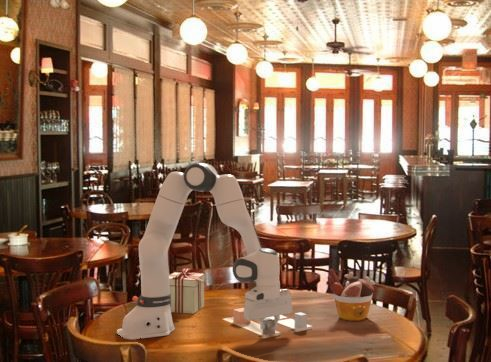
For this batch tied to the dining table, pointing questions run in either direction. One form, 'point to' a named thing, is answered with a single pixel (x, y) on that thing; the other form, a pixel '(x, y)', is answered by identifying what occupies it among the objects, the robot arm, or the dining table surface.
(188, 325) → the dining table surface
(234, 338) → the dining table surface
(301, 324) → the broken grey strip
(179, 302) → the gift box
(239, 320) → the terracotta block
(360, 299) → the bucket of meat
